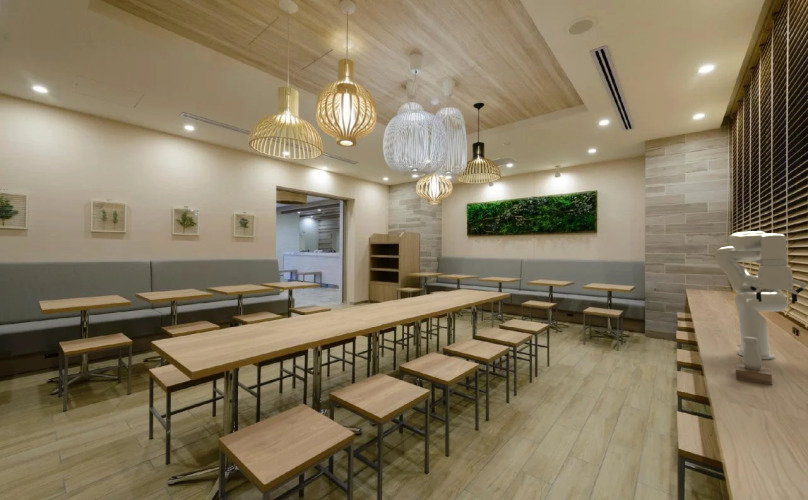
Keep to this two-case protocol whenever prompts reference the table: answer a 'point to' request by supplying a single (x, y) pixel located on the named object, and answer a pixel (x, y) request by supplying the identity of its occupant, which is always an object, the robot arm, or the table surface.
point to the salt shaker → (751, 354)
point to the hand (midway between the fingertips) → (776, 302)
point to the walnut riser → (753, 374)
